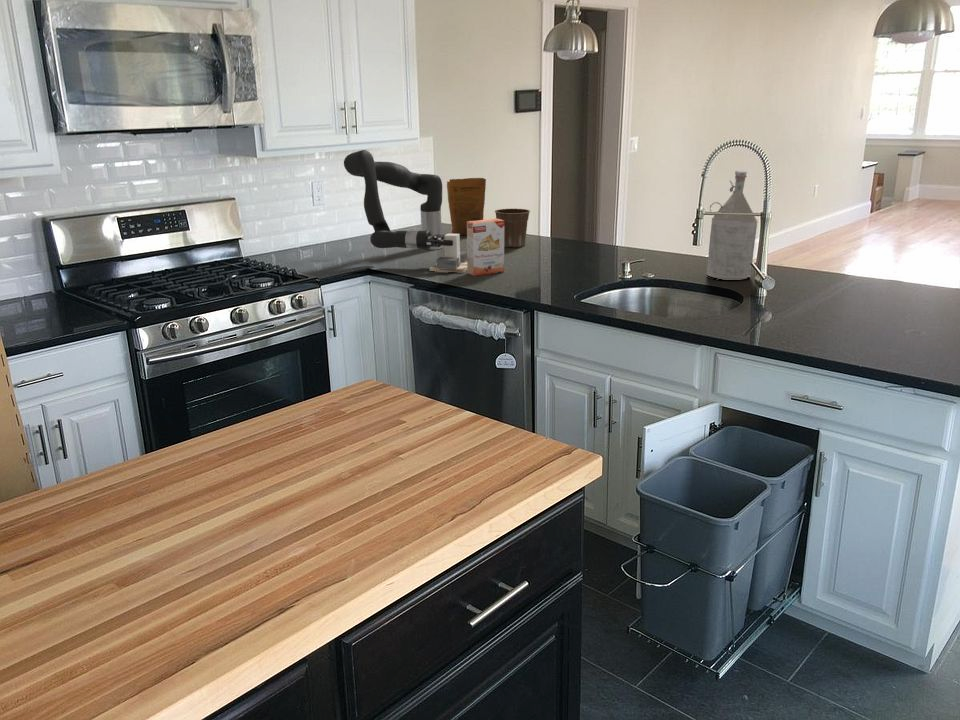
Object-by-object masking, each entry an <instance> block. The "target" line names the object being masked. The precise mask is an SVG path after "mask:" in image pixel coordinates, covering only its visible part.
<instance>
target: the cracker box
mask: <svg viewBox="0 0 960 720" xmlns="http://www.w3.org/2000/svg"><path fill="white" fill-rule="evenodd" d="M466 252H467V274H468V275H470V276H473V277H478V276H485V275H491V273H493V274H497V273H496V272H501V273H504V272H505V247H504V220H501V219H496V218H490V219H483V220H477V221H467V235H466ZM484 274H485V275H484ZM477 275H478V276H477Z"/></svg>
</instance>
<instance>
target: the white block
mask: <svg viewBox="0 0 960 720" xmlns="http://www.w3.org/2000/svg"><path fill="white" fill-rule="evenodd" d="M444 235H445V240H453V245H452V246H444V257H452V258H459V261H460V251H461V241H460V240H461V239H460V237H461V235H460V234H452V233H446V234H444Z"/></svg>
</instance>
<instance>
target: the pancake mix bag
mask: <svg viewBox="0 0 960 720" xmlns="http://www.w3.org/2000/svg"><path fill="white" fill-rule="evenodd" d="M486 185H487V179H486V178H484V177H469V178H451V179H449V181H446V190H447V202H448V210H449V214H450V216H449V217H450V223H451V228H452V229H451V234H460V236H467V221H477V220H484V211H485V201H486V188H487V187H486Z"/></svg>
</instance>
